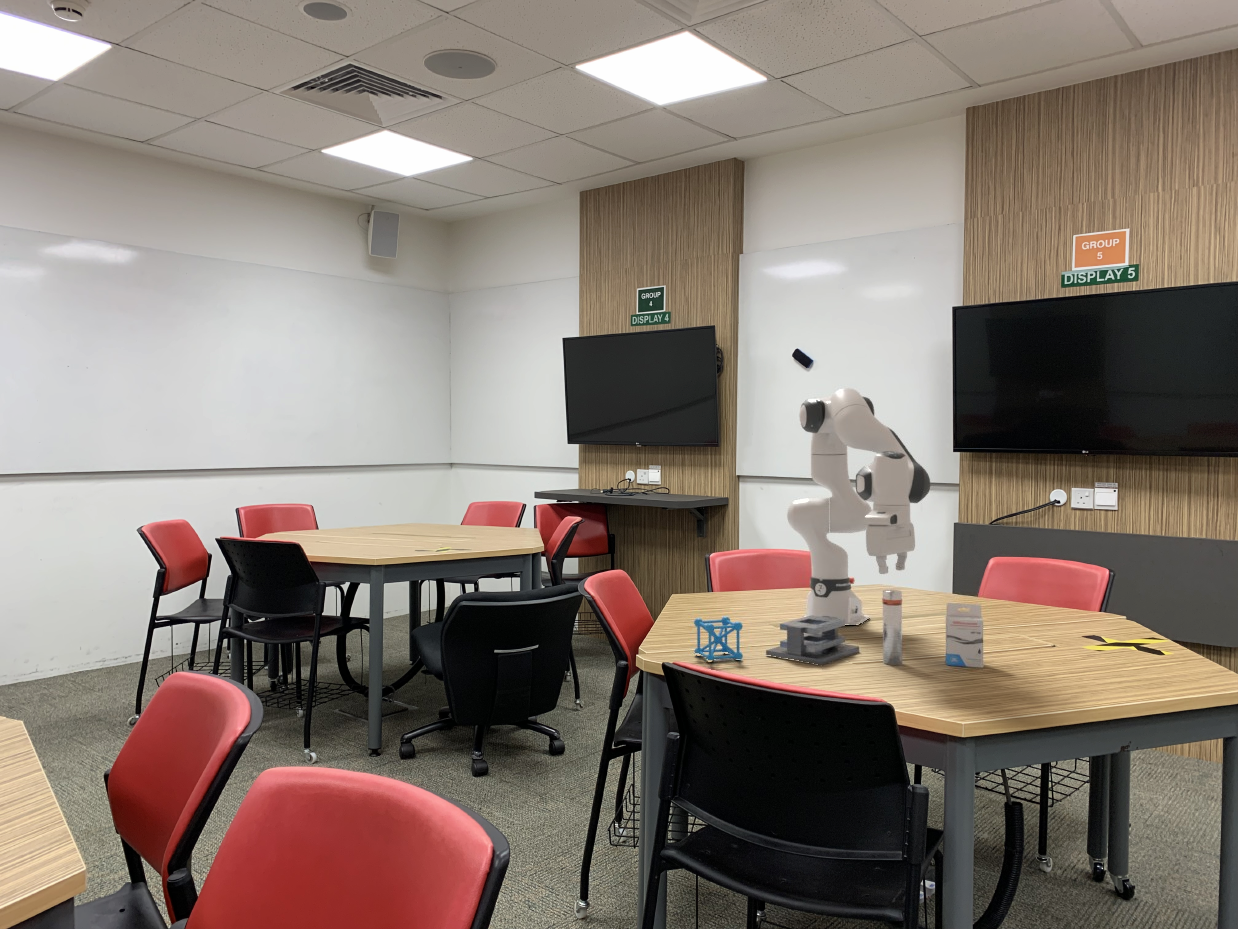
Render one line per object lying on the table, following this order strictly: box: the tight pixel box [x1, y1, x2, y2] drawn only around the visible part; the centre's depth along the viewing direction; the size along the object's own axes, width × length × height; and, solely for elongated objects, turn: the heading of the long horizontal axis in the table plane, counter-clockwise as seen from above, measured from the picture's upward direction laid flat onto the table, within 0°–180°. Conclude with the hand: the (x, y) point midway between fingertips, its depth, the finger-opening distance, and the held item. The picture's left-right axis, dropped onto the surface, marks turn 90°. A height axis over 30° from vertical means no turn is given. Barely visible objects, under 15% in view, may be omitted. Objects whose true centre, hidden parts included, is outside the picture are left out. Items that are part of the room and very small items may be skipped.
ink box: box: [945, 602, 984, 669], centre depth 212 cm, size 9×5×15 cm, turn 71°
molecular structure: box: [693, 616, 744, 661], centre depth 221 cm, size 10×10×10 cm
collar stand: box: [765, 615, 860, 666], centre depth 224 cm, size 20×16×8 cm
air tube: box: [881, 589, 903, 666], centre depth 214 cm, size 5×5×18 cm
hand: (892, 571), depth 214 cm, fingers open, 8 cm apart
